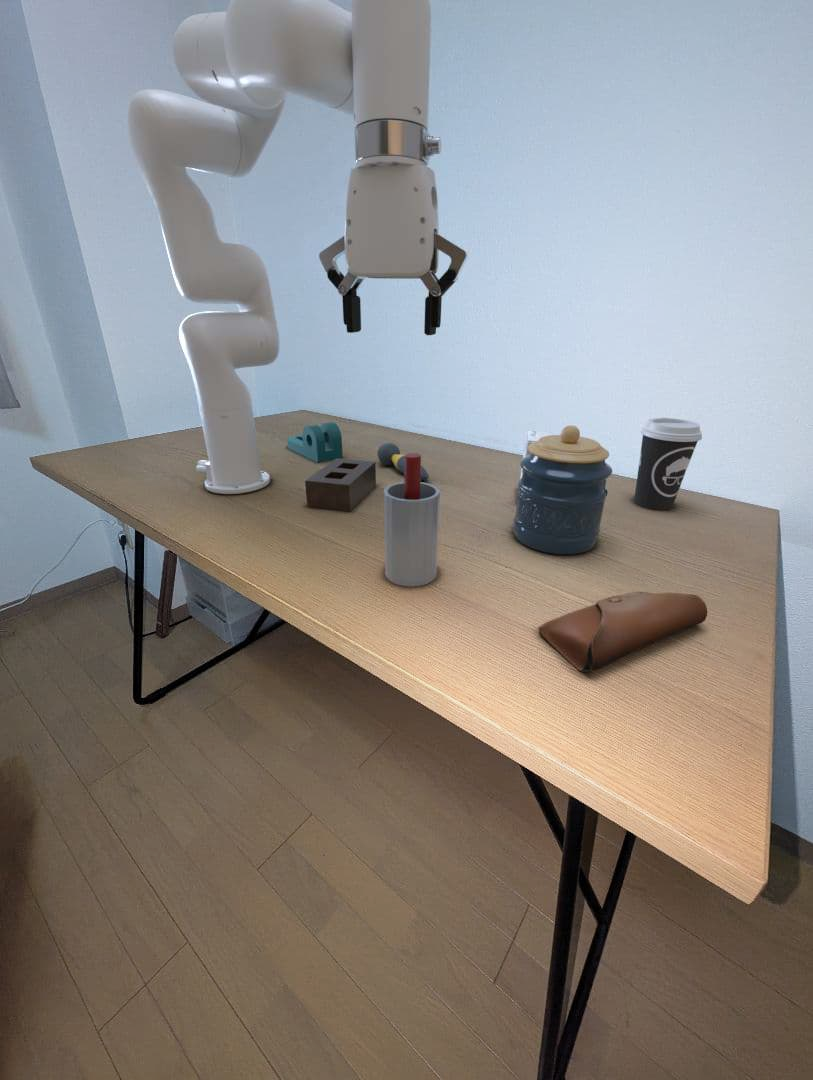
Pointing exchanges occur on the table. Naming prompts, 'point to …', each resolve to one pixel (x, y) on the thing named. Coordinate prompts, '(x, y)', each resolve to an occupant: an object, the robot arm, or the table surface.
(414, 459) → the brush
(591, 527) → the canister
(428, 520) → the grey cylindrical cup
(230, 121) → the robot arm
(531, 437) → the ink box
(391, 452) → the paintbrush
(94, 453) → the table surface
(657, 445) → the coffee cup
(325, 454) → the bracket
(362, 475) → the holder
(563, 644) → the sunglasses case
